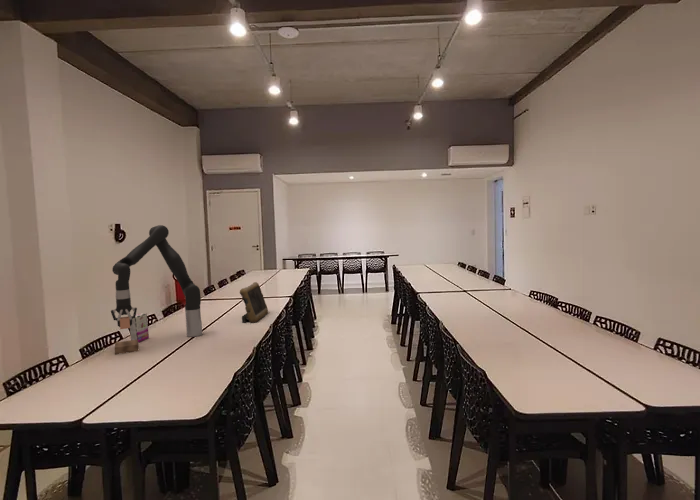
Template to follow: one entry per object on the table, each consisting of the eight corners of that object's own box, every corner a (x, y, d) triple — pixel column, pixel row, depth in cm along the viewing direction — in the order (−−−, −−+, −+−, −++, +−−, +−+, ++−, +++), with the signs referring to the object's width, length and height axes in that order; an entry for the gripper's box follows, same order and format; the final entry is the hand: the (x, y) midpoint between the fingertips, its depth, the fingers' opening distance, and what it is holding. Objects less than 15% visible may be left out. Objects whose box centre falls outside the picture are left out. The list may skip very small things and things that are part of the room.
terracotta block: (130, 326, 264) (129, 316, 264) (130, 328, 260) (129, 317, 259) (120, 327, 262) (119, 317, 262) (120, 329, 257) (119, 319, 257)
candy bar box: (142, 338, 288) (140, 312, 287) (149, 338, 287) (147, 313, 286) (130, 343, 277) (128, 317, 276) (137, 343, 276) (135, 317, 275)
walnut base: (138, 345, 270) (137, 339, 269) (138, 351, 259) (138, 344, 259) (116, 349, 265) (115, 342, 264) (115, 354, 254) (114, 347, 253)
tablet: (259, 323, 318) (258, 288, 316) (240, 323, 318) (238, 288, 316) (268, 313, 350) (267, 281, 348) (251, 313, 350) (249, 282, 348)
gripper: (136, 295, 266) (138, 323, 267) (109, 297, 260) (111, 326, 261) (136, 297, 259) (138, 326, 260) (108, 299, 253) (110, 329, 254)
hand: (125, 326), depth 261 cm, fingers closed on terracotta block, 5 cm apart
